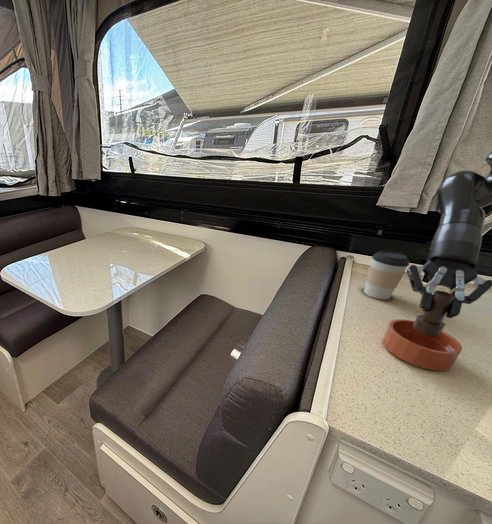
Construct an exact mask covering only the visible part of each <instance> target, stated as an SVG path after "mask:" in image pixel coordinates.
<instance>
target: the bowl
mask: <svg viewBox="0 0 492 524" xmlns="http://www.w3.org/2000/svg"><path fill="white" fill-rule="evenodd" d="M414 322H415V320H410V319H394V320H391V321H390V322H389V323H388V325H387V327H386V330H385V332H384V334H383V336H382V344H383V345H384V347H385V349H387V350H388V351H389V352H391V354H393V355H394V356H395V357H397V358H399V359H400V360H402V361H403V362H406V363H408V364H411V365H413V366H416V367H419V368H422V369H427V370H431V371H447V370H451V369H452V368H453V365H454V364H455V362H456V360H457V359H458V357H459V356H460V354H461V352H462V350H463V346H462V343H460V341H459V340H457V339H456V338H455V336H453V335H451V334H450V333H448V332H445V331H444V330H442V332H441V333H440V335H439V336H438V337H430V336H426V335H423V334H421V333H419V332H417V331H416V330H414V329H413V327H412V326H413V324H414Z"/></svg>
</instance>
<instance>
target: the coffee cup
mask: <svg viewBox="0 0 492 524" xmlns="http://www.w3.org/2000/svg"><path fill="white" fill-rule="evenodd" d="M371 258H372V260H371V262H370V265H369V269H368V273H367V276H366V283H365V286H364V290H363V293H364V294H365V295H367V296H369V297H371V298H374V299H378V300H389V299H390V298H391V297H392V295H393V293H394V292H395V289H397V287H398V285H399V284H400V282H401V280H402V278H403V276H404V274H405V273H406V270H407V269H408V266H410V262H411V260H409V259H408V257H407V256H406V255H405V254H403V253H400V252H397V251H394V250H392V249H383V250H379V252H375V253H374V254H373V255H372V257H371Z"/></svg>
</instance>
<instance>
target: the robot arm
mask: <svg viewBox="0 0 492 524" xmlns="http://www.w3.org/2000/svg"><path fill="white" fill-rule="evenodd" d="M485 161H486V163H487V164H488V165H489V167H490V170H489V172H488V173H487V174H486V176H484V175H482V174H480V173H478V172H476V171H474V170H469V169H464V170H463V169H462V170H458V171H455V172H453V173H451V174H450V175H448V176H446V177H445V178H444V180H443V181H442V182H441V184H440V185H439V188H438V191H437V201H438V209H439V213H440V218H439V220H438V224H437V228H436V231H435V233H434V235H433V238H432V240H431V242H430V248H429V252H428V256H427V260H426V263H424V264H423V265H419V266H418V265H415V264H411V265H409V267H407V268H406V274H407V277H408V280H409V283H410V286H411V289H412V291H413V292H416V293H419V294H420V295H421V299H420V303H419V308H420V309H422V312H424V311H425V312H427V311H429V310H430V307H431V303H432V299H433V294H434V292H435V291H436V288H437V287H438V286H439V287H445V288H447V289H449V293H450V294H452V295H454V296H455V299H454V301H453V302H452V304H451V306H450V308H449V310H448V311H447V313H446V315H445V318H447V319H453V318H456V317H457V316H459V315H460V314H461V310H462V305H463V304H466V305H472V304H473V303H474V302H476V301H477V300H479V299H480V298H481V297H482V296H483V295H485V293H486V292H487V291H488V290H489V289H491V288H492V279H487V280H486V279H485V278H482V277H480V276H478V275H479V274H478V273H477V270H476V268H477V264H478V259H479V255H480V250H481V246H482V242H483V229H484V226H485V220H486V211H485V210H484V209H483V208H484V207H488V206H489V205H492V151H490V152H489V153H488V154H487V155H486V157H485ZM422 272H423V274H424V275H425V277H426V278H427V279H428V280H429V281H428V282H427V284H426V286H424V285H423V281H422V279H421V274H422ZM471 282H473V283H474V284H473V288H474V290H473V291H472V292H471V293H470V294H469V295H465V289H466V287H465V286H466V285H467V284H469V283H471Z"/></svg>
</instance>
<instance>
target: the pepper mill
mask: <svg viewBox="0 0 492 524" xmlns="http://www.w3.org/2000/svg"><path fill="white" fill-rule="evenodd" d="M432 295H433V299H432V303H431V307H430V310H429V311H427V312H425V311H423V314H418V315H417V316H416V318H415V320H414V321H415V322H414V324H413V326H412V327H413V329H414V330H416V331H417V332H419V333H421V334H423V335H426V336H430V337H438V336H439V335H440V333H441V332H442V331H444V329H445V326H446V323H445V322H444V318H446V315H447V311H448V310H449V308H450V306H451V304H452V302H453V301H454V299H455V296H454V295H452V294H450V292H447V291H444V290H434V292H433V293H432Z"/></svg>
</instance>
